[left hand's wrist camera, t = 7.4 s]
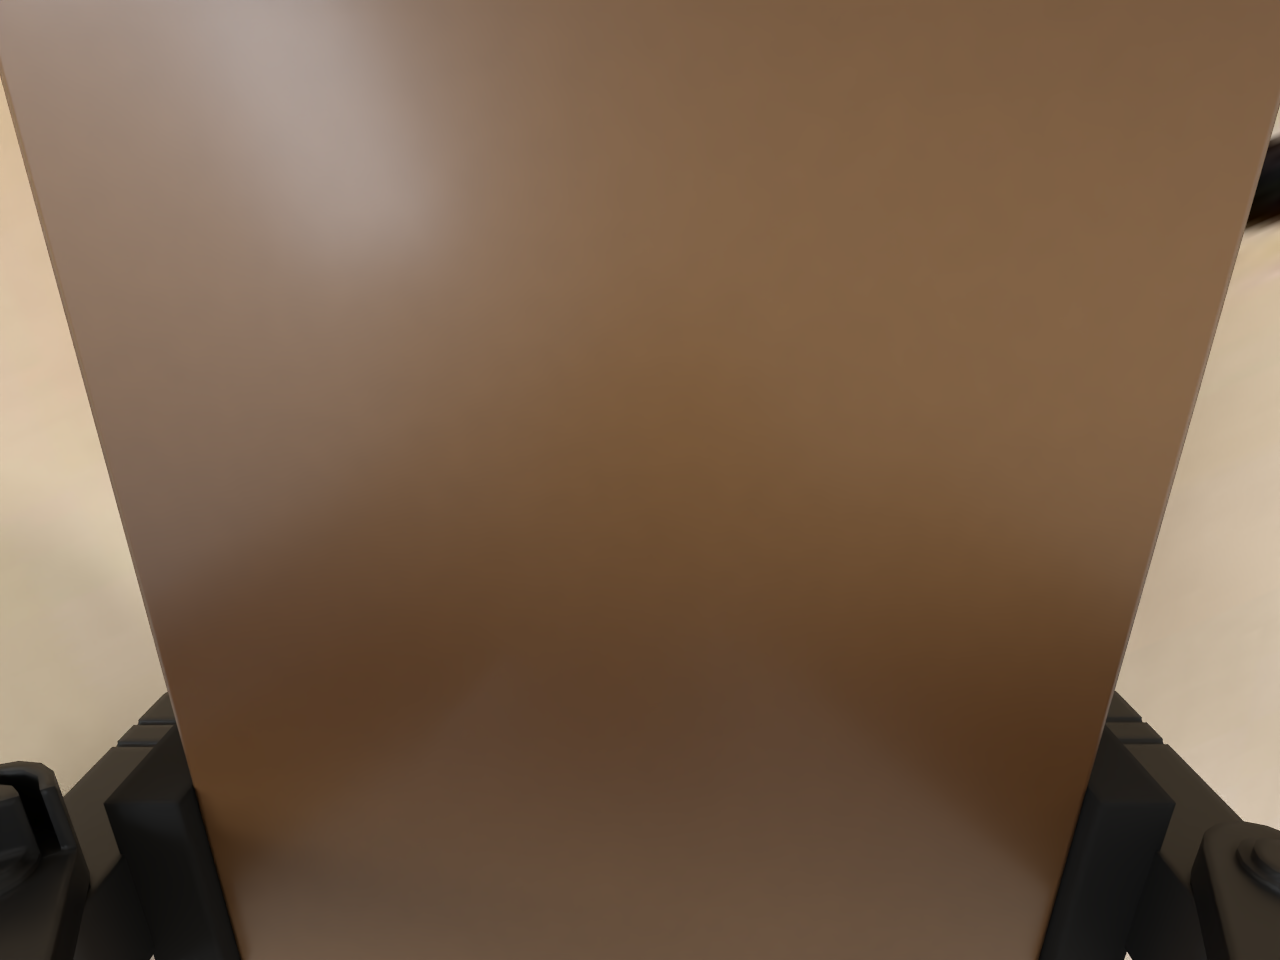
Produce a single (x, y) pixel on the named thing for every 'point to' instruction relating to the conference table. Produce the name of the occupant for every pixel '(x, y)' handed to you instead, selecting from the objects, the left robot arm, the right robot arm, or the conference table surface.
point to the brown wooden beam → (641, 440)
